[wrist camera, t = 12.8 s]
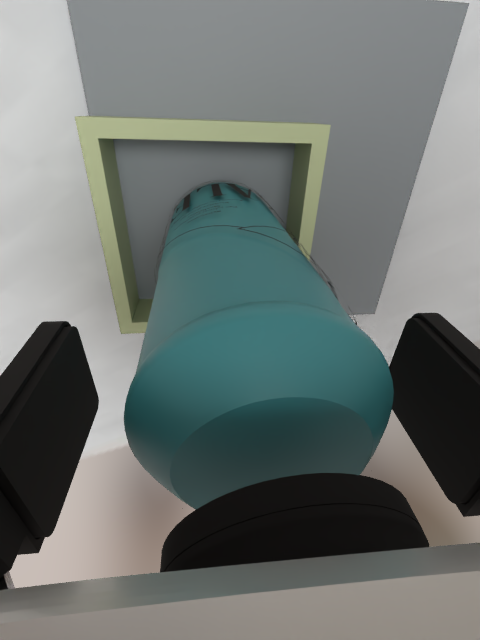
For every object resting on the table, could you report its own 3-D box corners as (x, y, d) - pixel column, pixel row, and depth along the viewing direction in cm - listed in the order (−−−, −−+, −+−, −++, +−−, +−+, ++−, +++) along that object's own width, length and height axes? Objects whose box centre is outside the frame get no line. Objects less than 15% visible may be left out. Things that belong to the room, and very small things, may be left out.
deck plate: (449, 11, 17) (521, -18, 13) (366, 304, 27) (393, 335, 23) (72, -19, 15) (30, -62, 11) (132, 312, 25) (120, 348, 21)
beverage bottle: (216, 292, 23) (274, 781, 6) (144, 221, 20) (-146, 852, 3) (290, 232, 21) (654, 692, 4) (225, 144, 18) (664, 614, 1)
